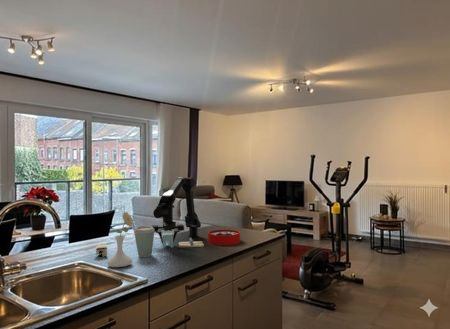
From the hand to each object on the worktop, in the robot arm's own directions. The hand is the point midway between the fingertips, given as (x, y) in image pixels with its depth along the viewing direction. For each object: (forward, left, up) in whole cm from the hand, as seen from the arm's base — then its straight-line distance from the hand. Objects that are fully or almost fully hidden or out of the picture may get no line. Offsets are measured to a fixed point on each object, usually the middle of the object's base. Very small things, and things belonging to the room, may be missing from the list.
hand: (167, 242), depth 198 cm
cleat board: (0, +13, -2) cm, 14 cm away
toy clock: (-6, +34, -2) cm, 35 cm away
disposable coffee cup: (+20, -13, -2) cm, 24 cm away
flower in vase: (+35, -23, -2) cm, 42 cm away
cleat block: (0, 0, -2) cm, 2 cm away
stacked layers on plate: (+15, -35, -3) cm, 38 cm away
